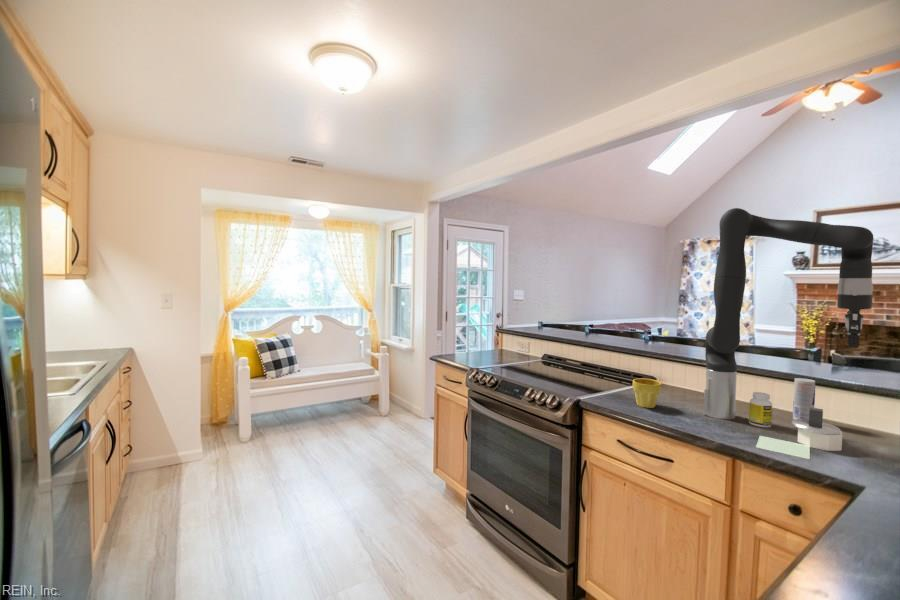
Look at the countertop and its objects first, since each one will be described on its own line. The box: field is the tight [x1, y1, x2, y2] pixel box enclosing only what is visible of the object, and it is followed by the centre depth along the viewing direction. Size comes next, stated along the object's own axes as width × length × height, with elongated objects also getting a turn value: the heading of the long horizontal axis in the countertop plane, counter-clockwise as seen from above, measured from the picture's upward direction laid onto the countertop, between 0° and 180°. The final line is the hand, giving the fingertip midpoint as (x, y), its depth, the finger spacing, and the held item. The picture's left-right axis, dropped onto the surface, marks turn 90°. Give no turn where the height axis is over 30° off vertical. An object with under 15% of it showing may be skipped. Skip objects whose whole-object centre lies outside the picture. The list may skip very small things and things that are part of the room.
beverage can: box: [792, 377, 816, 420], centre depth 143 cm, size 6×6×15 cm
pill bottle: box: [748, 391, 773, 428], centre depth 139 cm, size 6×6×11 cm
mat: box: [755, 435, 811, 460], centre depth 121 cm, size 12×12×1 cm
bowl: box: [796, 428, 843, 452], centre depth 122 cm, size 10×10×5 cm
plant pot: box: [632, 377, 662, 409], centre depth 161 cm, size 10×10×10 cm
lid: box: [791, 407, 841, 435], centre depth 123 cm, size 11×11×6 cm
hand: (852, 345), depth 124 cm, fingers open, 8 cm apart
